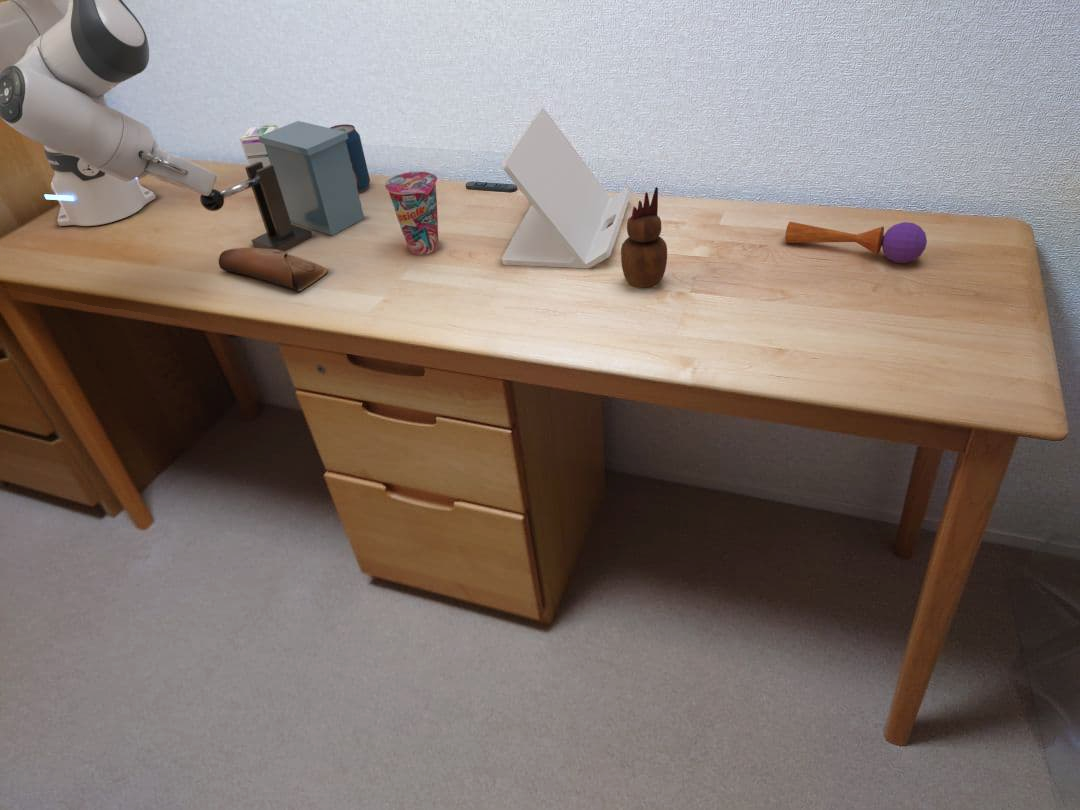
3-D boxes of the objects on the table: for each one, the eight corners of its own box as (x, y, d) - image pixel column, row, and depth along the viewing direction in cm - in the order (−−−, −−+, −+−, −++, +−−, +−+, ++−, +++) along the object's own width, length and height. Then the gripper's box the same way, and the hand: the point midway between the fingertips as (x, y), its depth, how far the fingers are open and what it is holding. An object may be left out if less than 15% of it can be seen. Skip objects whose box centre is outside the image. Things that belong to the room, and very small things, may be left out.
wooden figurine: (665, 273, 118) (668, 180, 108) (666, 292, 113) (669, 197, 104) (621, 274, 119) (620, 182, 109) (621, 293, 114) (619, 199, 105)
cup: (389, 255, 130) (374, 188, 123) (418, 233, 136) (405, 168, 128) (434, 264, 126) (421, 195, 119) (461, 241, 132) (451, 174, 125)
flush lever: (212, 216, 124) (204, 195, 122) (200, 212, 126) (192, 191, 124) (276, 187, 131) (270, 167, 129) (264, 183, 133) (257, 163, 131)
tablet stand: (501, 264, 124) (488, 163, 114) (536, 199, 143) (528, 107, 132) (610, 269, 120) (608, 164, 110) (632, 201, 139) (632, 106, 128)
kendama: (795, 209, 122) (932, 219, 113) (791, 245, 125) (925, 259, 115) (784, 217, 118) (926, 229, 108) (781, 255, 121) (919, 270, 111)
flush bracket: (276, 255, 134) (251, 178, 125) (253, 246, 138) (227, 171, 129) (312, 236, 139) (290, 161, 130) (289, 228, 142) (266, 154, 133)
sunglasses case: (331, 267, 127) (308, 245, 121) (312, 303, 126) (287, 283, 120) (257, 249, 135) (231, 227, 129) (237, 283, 134) (210, 262, 128)
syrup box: (292, 208, 149) (269, 134, 140) (262, 210, 150) (238, 137, 141) (299, 196, 154) (278, 124, 145) (271, 198, 154) (248, 126, 145)
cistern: (331, 237, 138) (306, 148, 128) (284, 221, 145) (258, 136, 135) (367, 218, 143) (346, 131, 133) (321, 203, 150) (298, 120, 140)
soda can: (360, 179, 158) (347, 120, 151) (377, 187, 154) (364, 128, 146) (331, 189, 155) (315, 130, 148) (347, 198, 151) (332, 138, 143)
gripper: (169, 139, 106) (250, 181, 118) (98, 118, 117) (179, 158, 128) (153, 181, 106) (235, 219, 118) (84, 156, 117) (166, 193, 129)
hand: (206, 187), depth 123 cm, fingers closed, pressing on flush lever
